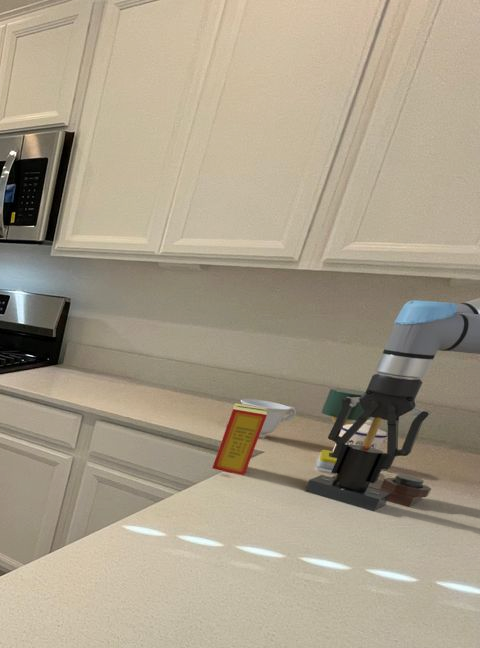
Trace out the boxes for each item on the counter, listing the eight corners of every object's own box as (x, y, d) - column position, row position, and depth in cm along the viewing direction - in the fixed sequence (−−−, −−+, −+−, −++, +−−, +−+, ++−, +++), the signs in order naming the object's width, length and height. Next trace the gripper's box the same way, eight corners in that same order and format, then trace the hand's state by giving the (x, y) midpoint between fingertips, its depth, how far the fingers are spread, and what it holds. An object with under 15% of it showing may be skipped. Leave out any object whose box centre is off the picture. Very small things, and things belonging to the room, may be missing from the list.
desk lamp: (374, 471, 141) (407, 399, 134) (363, 476, 137) (397, 402, 130) (309, 455, 151) (337, 386, 144) (297, 459, 147) (325, 389, 140)
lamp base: (428, 501, 135) (436, 485, 133) (416, 509, 130) (424, 493, 128) (342, 478, 147) (348, 464, 145) (328, 485, 142) (334, 469, 140)
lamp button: (423, 487, 133) (426, 480, 132) (417, 490, 131) (421, 483, 130) (396, 480, 137) (399, 473, 136) (390, 483, 134) (394, 476, 134)
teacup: (298, 443, 175) (311, 411, 172) (244, 438, 177) (256, 406, 173) (272, 432, 186) (283, 401, 183) (221, 427, 188) (232, 397, 185)
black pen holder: (363, 492, 129) (381, 453, 126) (329, 484, 133) (346, 445, 130) (369, 488, 132) (386, 449, 129) (336, 479, 136) (352, 442, 133)
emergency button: (369, 453, 154) (371, 465, 144) (363, 468, 156) (363, 481, 145) (323, 443, 160) (321, 455, 150) (316, 458, 162) (314, 470, 151)
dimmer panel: (386, 504, 131) (392, 491, 130) (372, 512, 126) (378, 499, 125) (318, 485, 141) (323, 473, 140) (302, 492, 136) (308, 479, 135)
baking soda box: (244, 475, 144) (267, 413, 139) (212, 468, 148) (233, 407, 143) (245, 466, 151) (267, 407, 146) (215, 459, 155) (235, 401, 150)
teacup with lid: (331, 460, 161) (348, 420, 157) (326, 452, 168) (343, 413, 164) (391, 471, 154) (411, 430, 150) (384, 463, 161) (403, 423, 157)
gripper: (466, 384, 119) (415, 488, 127) (344, 366, 133) (305, 461, 141) (460, 387, 114) (408, 495, 123) (335, 368, 129) (295, 466, 137)
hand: (353, 476), depth 132 cm, fingers closed on black pen holder, 6 cm apart
